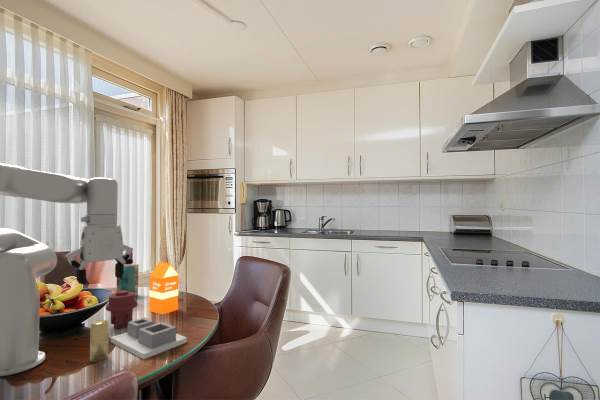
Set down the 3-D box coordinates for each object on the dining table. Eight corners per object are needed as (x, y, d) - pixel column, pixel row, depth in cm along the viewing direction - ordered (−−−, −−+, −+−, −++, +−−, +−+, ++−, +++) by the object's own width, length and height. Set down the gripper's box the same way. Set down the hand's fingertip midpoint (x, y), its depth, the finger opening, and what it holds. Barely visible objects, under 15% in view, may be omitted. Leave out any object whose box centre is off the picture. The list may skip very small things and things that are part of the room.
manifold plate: (143, 359, 89) (143, 339, 89) (110, 342, 100) (110, 324, 101) (186, 342, 100) (186, 324, 100) (152, 328, 112) (152, 312, 112)
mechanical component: (143, 321, 119) (123, 331, 109) (120, 320, 121) (98, 329, 111) (143, 288, 119) (123, 296, 109) (120, 287, 121) (99, 294, 111)
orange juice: (161, 314, 127) (162, 264, 127) (148, 310, 131) (149, 262, 132) (178, 309, 133) (179, 262, 134) (165, 306, 138) (166, 260, 139)
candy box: (138, 294, 157) (139, 263, 157) (134, 297, 152) (134, 265, 153) (120, 294, 156) (121, 263, 157) (115, 297, 152) (116, 265, 153)
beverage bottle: (120, 301, 145) (121, 258, 145) (136, 300, 147) (137, 257, 147) (116, 305, 138) (117, 260, 139) (133, 304, 140) (134, 259, 141)
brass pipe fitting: (93, 363, 86) (94, 326, 87) (87, 359, 89) (87, 323, 89) (110, 357, 90) (111, 322, 90) (103, 353, 93) (104, 319, 93)
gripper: (72, 222, 82) (71, 288, 81) (138, 220, 96) (137, 276, 95) (61, 221, 86) (60, 284, 85) (126, 219, 100) (125, 273, 99)
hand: (101, 280), depth 90 cm, fingers open, 9 cm apart
